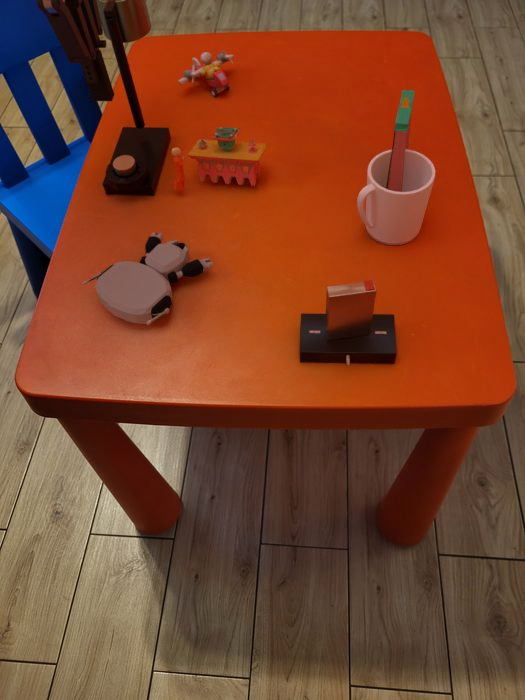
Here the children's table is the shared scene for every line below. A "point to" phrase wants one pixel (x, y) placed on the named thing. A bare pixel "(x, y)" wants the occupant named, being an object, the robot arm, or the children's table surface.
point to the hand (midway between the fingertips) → (103, 97)
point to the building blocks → (244, 157)
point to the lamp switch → (125, 166)
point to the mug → (396, 198)
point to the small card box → (349, 309)
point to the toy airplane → (209, 71)
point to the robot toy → (146, 280)
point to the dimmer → (348, 342)
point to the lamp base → (139, 160)
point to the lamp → (125, 40)
